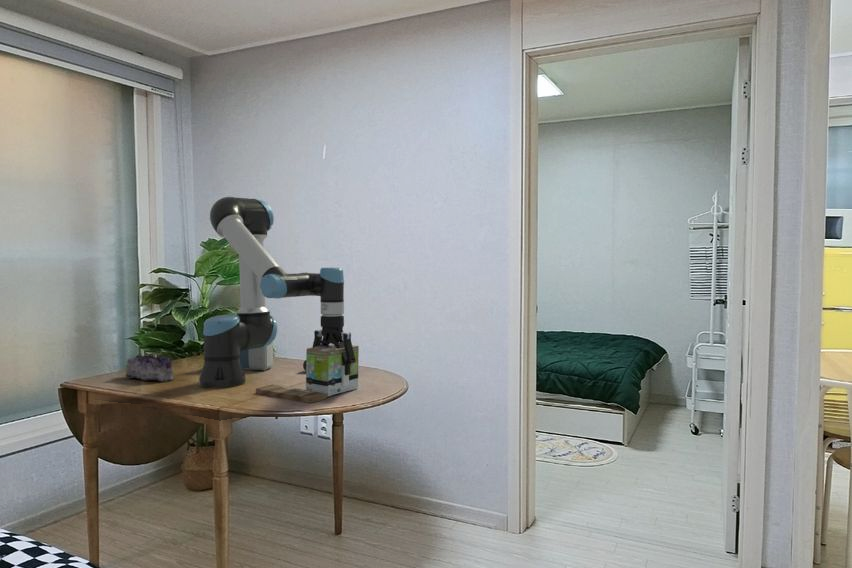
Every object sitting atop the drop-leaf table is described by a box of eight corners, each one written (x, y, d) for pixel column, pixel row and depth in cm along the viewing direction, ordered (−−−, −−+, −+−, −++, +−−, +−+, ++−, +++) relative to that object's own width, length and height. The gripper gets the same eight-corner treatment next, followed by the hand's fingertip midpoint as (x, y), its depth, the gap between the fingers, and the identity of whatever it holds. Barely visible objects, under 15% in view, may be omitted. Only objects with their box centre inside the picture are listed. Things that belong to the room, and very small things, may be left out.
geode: (187, 378, 216) (184, 351, 214) (161, 388, 206) (157, 361, 204) (148, 371, 224) (145, 345, 223) (120, 381, 214) (117, 354, 212)
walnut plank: (256, 393, 191) (255, 388, 191) (272, 389, 197) (272, 384, 197) (310, 403, 178) (310, 397, 178) (326, 398, 184) (326, 393, 184)
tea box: (328, 397, 185) (328, 350, 184) (305, 393, 190) (304, 347, 189) (359, 388, 197) (359, 344, 197) (336, 385, 203) (336, 342, 202)
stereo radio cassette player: (216, 369, 231) (215, 318, 230) (228, 365, 239) (227, 316, 238) (265, 371, 226) (264, 319, 226) (275, 367, 234) (275, 317, 234)
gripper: (298, 314, 196) (299, 380, 197) (351, 318, 183) (352, 389, 184) (314, 312, 202) (315, 377, 203) (366, 315, 190) (367, 384, 191)
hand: (332, 382), depth 194 cm, fingers closed on tea box, 10 cm apart
